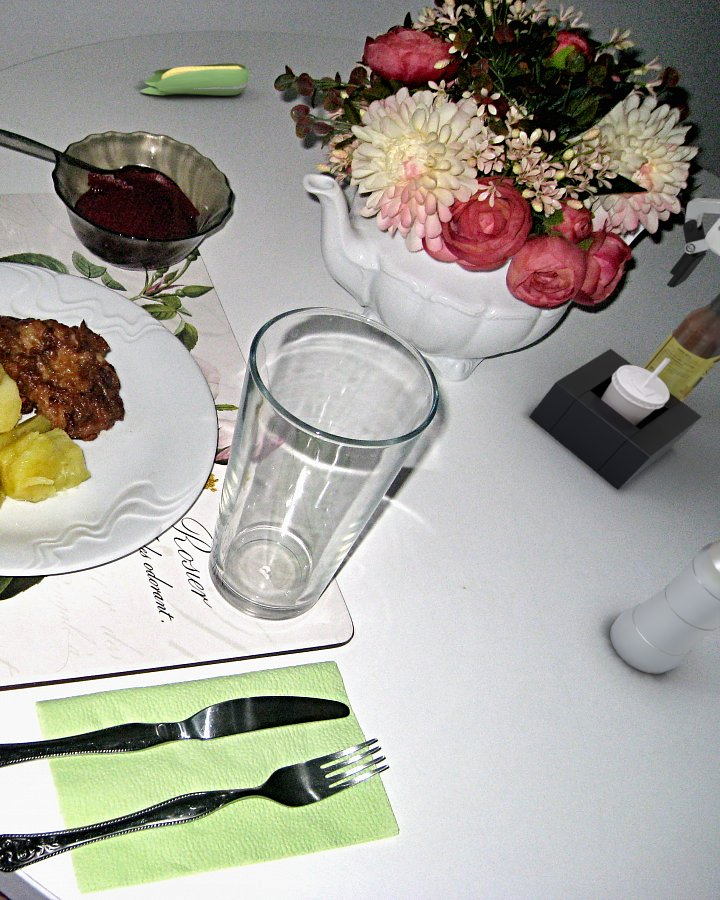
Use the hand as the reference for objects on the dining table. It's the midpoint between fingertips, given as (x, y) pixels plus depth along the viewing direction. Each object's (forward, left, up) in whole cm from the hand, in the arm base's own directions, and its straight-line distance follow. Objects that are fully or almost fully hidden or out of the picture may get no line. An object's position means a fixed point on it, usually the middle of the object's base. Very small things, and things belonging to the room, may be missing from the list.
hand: (715, 309), depth 95 cm
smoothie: (0, 0, -21) cm, 21 cm away
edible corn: (+84, -5, -21) cm, 87 cm away
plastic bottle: (-19, +24, -21) cm, 37 cm away
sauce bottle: (0, -13, -21) cm, 25 cm away
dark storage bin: (0, 0, -21) cm, 21 cm away
